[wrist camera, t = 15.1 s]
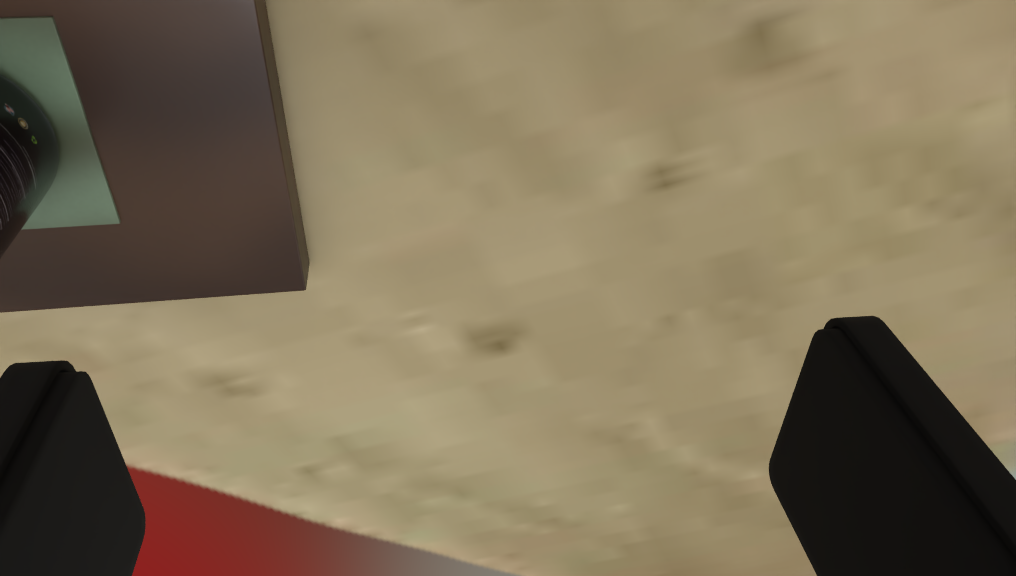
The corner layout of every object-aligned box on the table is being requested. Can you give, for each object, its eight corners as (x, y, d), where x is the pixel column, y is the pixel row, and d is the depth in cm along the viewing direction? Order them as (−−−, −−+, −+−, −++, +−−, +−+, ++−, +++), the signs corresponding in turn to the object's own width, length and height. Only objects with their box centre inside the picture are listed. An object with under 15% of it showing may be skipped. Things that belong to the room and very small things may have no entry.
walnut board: (-351, -265, 24) (-423, -267, 22) (222, -256, 27) (208, -258, 24) (-63, 289, 37) (-91, 322, 35) (309, 263, 39) (305, 293, 37)
